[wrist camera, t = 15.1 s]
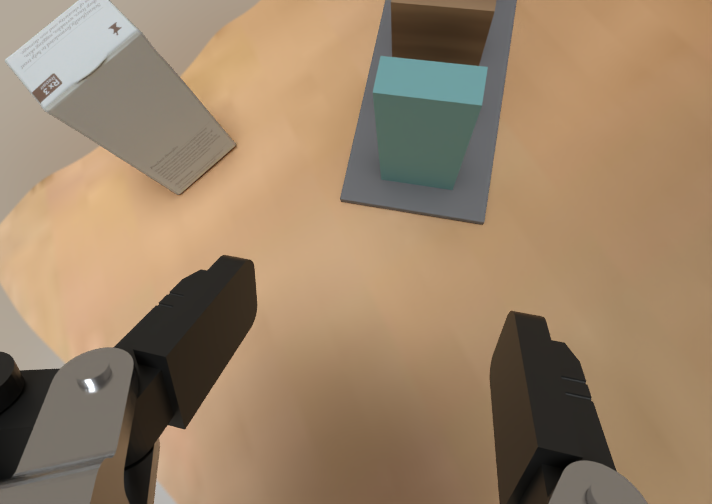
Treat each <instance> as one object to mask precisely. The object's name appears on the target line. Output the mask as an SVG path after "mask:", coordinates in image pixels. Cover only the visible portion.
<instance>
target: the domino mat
mask: <svg viewBox="0 0 712 504" xmlns="http://www.w3.org/2000/svg"><path fill="white" fill-rule="evenodd" d="M516 2H517V0H496V6H495V12H494V16H493V19H492V22H491V26H490V29H489V33H488V36H487V40H486V43H485V47H484V50H483V54H482V57H481V61H480V64H479V66H483V67H488V69H487V76H486V82H485V89H484V96H483V102H482V107H481V110H480V113H479V115H478V118H477V121H476V124H475V127H474V130H473V133H472V136H471V138H470V141H469V144H468V147H467V150H466V153H465V156H464V159H463V161H462V164H461V167H460V170H459V173H458V176H457V179H456V182H455V184H454V187H453V190H448V189H441V188H434V187H428V186H421V185H414V184H408V183H401V182H394V181H387V180H381V172H380V162H379V152H378V142H377V132H376V122H375V112H374V102H373V89H374V84H375V79H376V75H377V70H378V66H379V61H380V57H381V56H387V57H392V34H391V0H385V5H384V9H383V13H382V18H381V22H380V26H379V31H378V35H377V40H376V44H375V48H374V53H373V57H372V62H371V66H370V70H369V75H368V79H367V83H366V88H365V92H364V97H363V101H362V105H361V110H360V114H359V118H358V123H357V127H356V132H355V136H354V140H353V145H352V149H351V154H350V158H349V162H348V167H347V171H346V175H345V180H344V184H343V189H342V193H341V197H340V200H341V202H348V203H354V204H360V205H366V206H372V207H378V208H384V209H390V210H396V211H403V212H409V213H415V214H421V215H427V216H433V217H439V218H445V219H452V220H458V221H464V222H470V223H476V224H482V225H483V223H484V220H485V213H486V207H487V200H488V193H489V186H490V179H491V172H492V166H493V159H494V152H495V145H496V138H497V131H498V125H499V118H500V111H501V104H502V97H503V91H504V84H505V77H506V70H507V63H508V56H509V50H510V43H511V36H512V29H513V22H514V15H515V9H516Z"/></svg>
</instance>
